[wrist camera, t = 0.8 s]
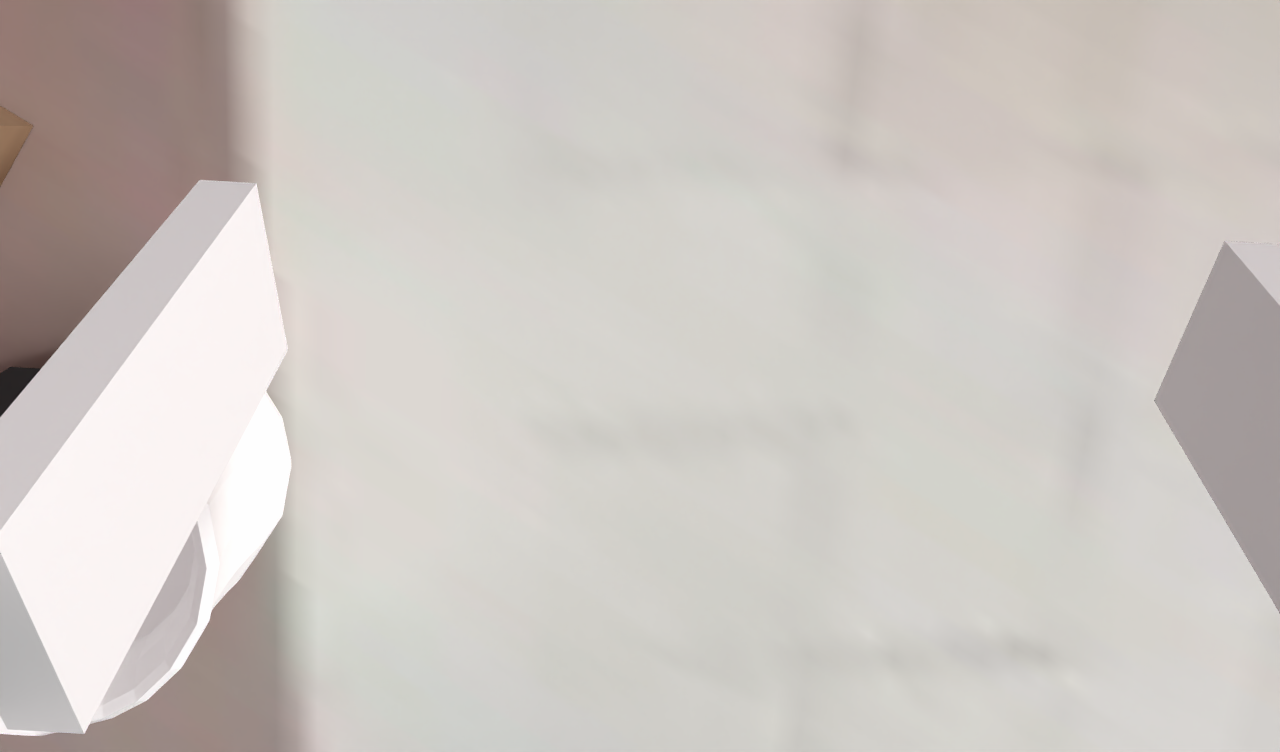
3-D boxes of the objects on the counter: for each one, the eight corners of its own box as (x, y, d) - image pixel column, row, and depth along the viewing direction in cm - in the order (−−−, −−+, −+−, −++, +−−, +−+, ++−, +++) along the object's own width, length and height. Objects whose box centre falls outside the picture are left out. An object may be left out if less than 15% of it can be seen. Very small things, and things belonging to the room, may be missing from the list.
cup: (-38, 503, 36) (-249, 636, 27) (100, 265, 35) (-71, 317, 25) (208, 635, 38) (94, 802, 29) (350, 414, 36) (279, 515, 27)
